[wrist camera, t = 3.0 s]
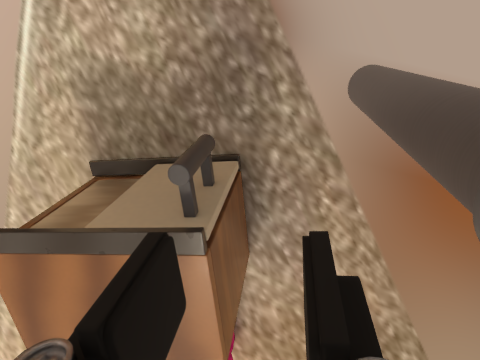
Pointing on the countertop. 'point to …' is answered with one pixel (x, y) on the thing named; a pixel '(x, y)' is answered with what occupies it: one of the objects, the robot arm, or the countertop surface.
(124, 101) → the countertop surface
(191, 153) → the sliding door
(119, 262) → the cabinet
